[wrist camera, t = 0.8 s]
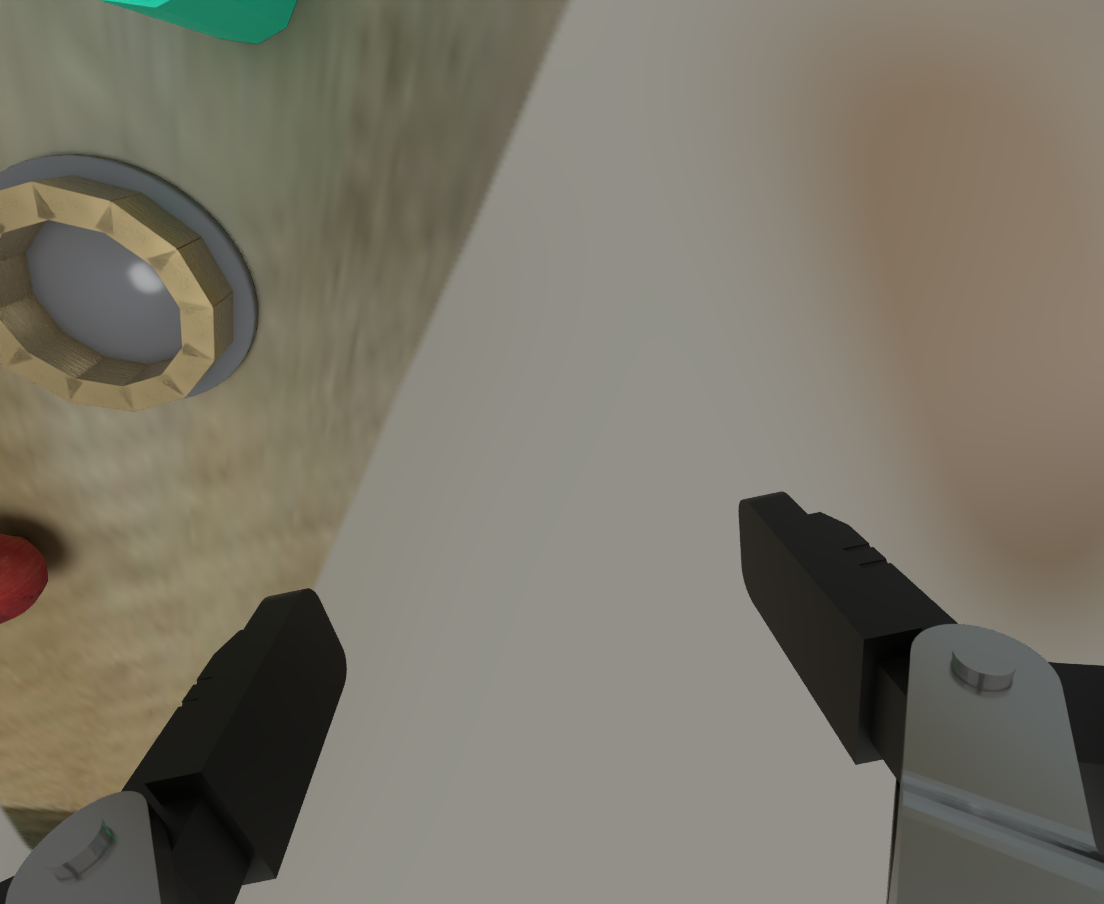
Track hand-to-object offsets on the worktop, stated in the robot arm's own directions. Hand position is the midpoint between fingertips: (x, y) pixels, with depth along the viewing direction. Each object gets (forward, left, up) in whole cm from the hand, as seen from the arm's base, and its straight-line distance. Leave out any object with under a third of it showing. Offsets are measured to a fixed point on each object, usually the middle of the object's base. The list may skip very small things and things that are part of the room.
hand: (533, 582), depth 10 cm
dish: (-18, -6, -26) cm, 33 cm away
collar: (-18, -6, -26) cm, 33 cm away
